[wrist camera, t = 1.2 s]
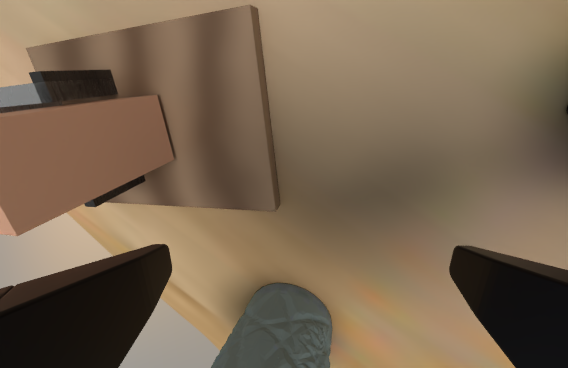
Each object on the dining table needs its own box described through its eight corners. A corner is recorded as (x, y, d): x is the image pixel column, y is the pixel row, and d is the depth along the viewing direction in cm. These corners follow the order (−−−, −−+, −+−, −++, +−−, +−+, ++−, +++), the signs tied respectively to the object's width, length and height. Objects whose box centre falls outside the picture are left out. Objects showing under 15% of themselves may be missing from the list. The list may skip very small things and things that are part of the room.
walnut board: (257, 8, 17) (249, 4, 16) (280, 204, 22) (275, 211, 21) (41, 48, 23) (25, 48, 22) (99, 196, 28) (89, 201, 27)
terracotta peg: (157, 94, 20) (-46, 124, 10) (174, 159, 22) (17, 236, 12) (96, 100, 22) (-125, 130, 12) (116, 160, 23) (-60, 226, 14)
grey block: (110, 69, 21) (39, 71, 16) (145, 180, 24) (95, 206, 20) (42, 79, 23) (-36, 82, 18) (83, 179, 26) (26, 202, 22)
